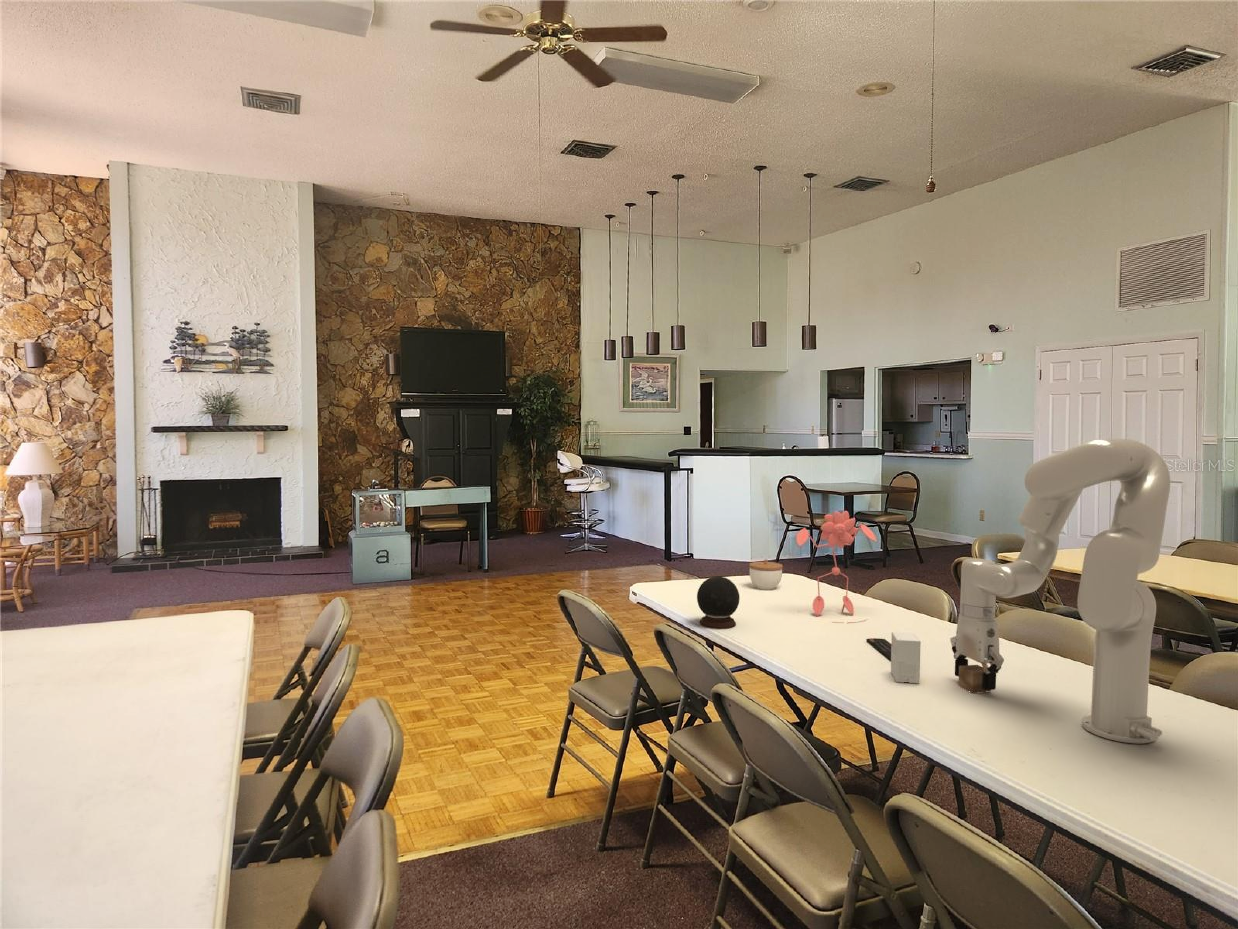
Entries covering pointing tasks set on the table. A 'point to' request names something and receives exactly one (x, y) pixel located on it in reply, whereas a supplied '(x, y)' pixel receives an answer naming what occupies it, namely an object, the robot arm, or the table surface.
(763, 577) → the lidded bowl
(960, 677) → the walnut cube
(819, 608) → the pink flower doll
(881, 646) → the remote control
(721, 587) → the black ball on stand
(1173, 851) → the table surface
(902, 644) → the small box
